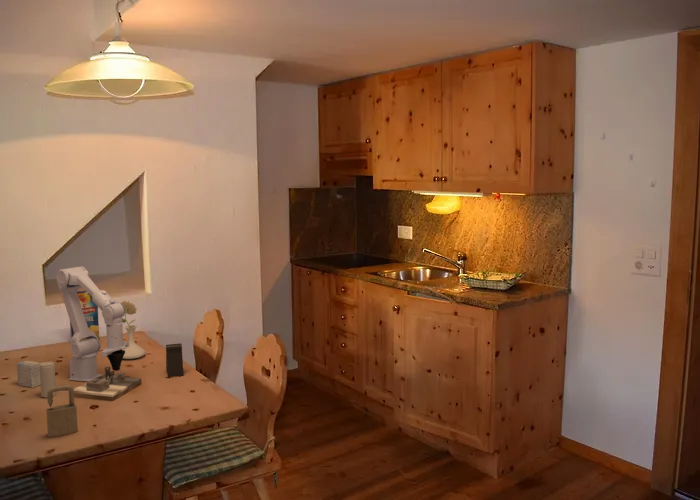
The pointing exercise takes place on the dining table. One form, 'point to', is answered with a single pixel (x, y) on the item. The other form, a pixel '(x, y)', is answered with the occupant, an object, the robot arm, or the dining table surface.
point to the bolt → (106, 376)
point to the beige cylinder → (47, 378)
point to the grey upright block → (28, 374)
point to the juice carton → (88, 312)
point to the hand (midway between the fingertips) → (116, 370)
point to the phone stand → (174, 360)
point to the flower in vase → (131, 334)
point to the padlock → (61, 414)
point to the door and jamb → (107, 387)
